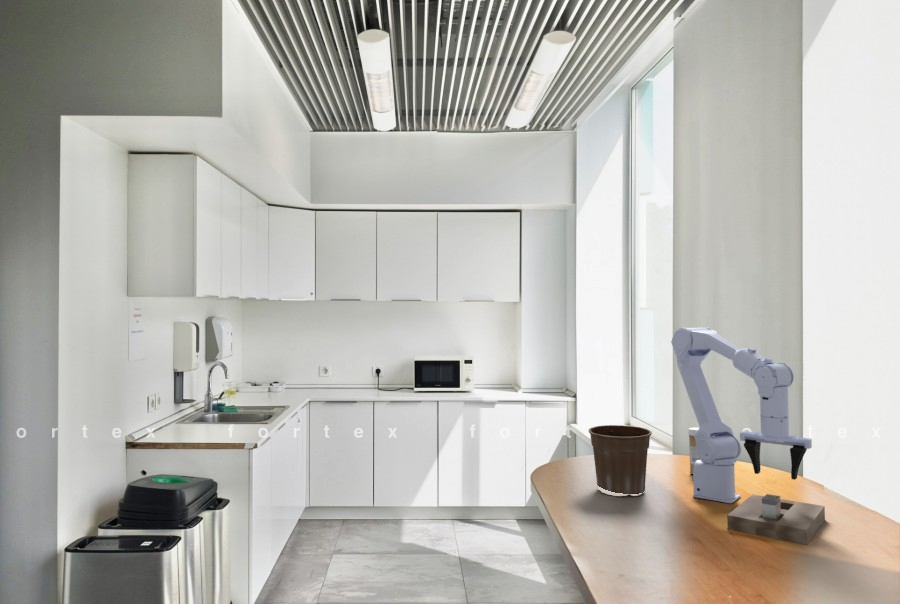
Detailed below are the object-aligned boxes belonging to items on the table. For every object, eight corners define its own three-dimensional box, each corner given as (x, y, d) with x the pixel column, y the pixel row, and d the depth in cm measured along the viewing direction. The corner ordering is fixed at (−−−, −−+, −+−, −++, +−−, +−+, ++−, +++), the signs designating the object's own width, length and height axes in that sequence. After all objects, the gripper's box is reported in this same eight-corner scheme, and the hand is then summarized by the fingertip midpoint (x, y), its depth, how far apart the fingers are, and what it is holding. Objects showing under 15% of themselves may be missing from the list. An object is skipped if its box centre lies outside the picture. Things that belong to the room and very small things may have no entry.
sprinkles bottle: (709, 475, 176) (708, 428, 177) (700, 477, 174) (699, 430, 174) (695, 472, 180) (694, 426, 181) (686, 474, 178) (685, 428, 178)
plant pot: (643, 504, 150) (642, 438, 150) (580, 494, 158) (579, 432, 159) (659, 488, 163) (658, 428, 164) (600, 480, 172) (599, 423, 172)
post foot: (727, 529, 131) (727, 515, 131) (752, 506, 146) (752, 494, 146) (806, 545, 121) (806, 530, 121) (825, 519, 137) (824, 506, 137)
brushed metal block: (762, 531, 129) (761, 498, 130) (767, 526, 133) (766, 494, 133) (776, 534, 128) (775, 500, 128) (781, 528, 131) (780, 496, 131)
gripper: (735, 415, 141) (736, 473, 141) (806, 421, 132) (807, 484, 131) (744, 411, 147) (745, 468, 146) (813, 417, 137) (814, 478, 137)
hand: (775, 475), depth 139 cm, fingers open, 7 cm apart
